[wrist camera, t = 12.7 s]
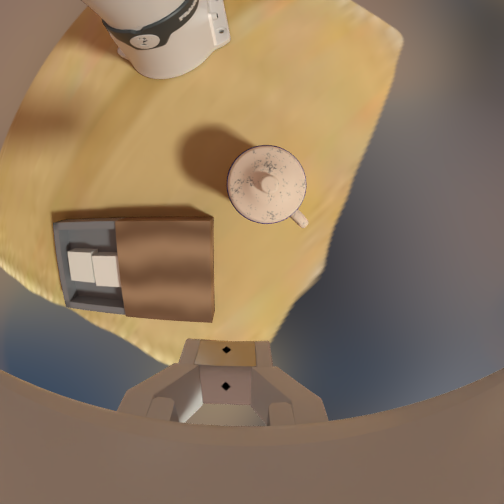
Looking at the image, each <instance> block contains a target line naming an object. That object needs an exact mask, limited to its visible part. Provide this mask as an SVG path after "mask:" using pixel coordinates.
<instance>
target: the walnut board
mask: <svg viewBox="0 0 504 504" xmlns="http://www.w3.org/2000/svg"><path fill="white" fill-rule="evenodd" d="M115 229H116V243H117V254H118V264H119V273H120V281H121V288H122V295H123V302H124V308H125V314H126V316H128V317H138V318H148V319H160V320H174V321H190V322H210V323H212V320H213V316H214V311H215V304H214V217H129V218H123V219H120V220H118V221H115Z"/></svg>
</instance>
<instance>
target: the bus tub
mask: <svg viewBox="0 0 504 504" xmlns="http://www.w3.org/2000/svg"><path fill="white" fill-rule="evenodd" d="M120 219H123V218H91V219H66V220H61V221H58V222H54V223H53V228H54V238H55V247H56V255H57V262H58V268H59V274H60V280H61V285H62V290H63V295H64V300H65V304H66V307H69V308H76V309H82V310H90V311H97V312H105V313H114V314H123V315H126V314H125V308H124V302H123V295H122V288H121V287H108V286H96V282H95V283H92V282H82V281H73V280H71V274H70V267H69V260H68V251H70V250H72V249H74V248H87V249H98V252H117V243H116V229H115V221H118V220H120Z"/></svg>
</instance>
